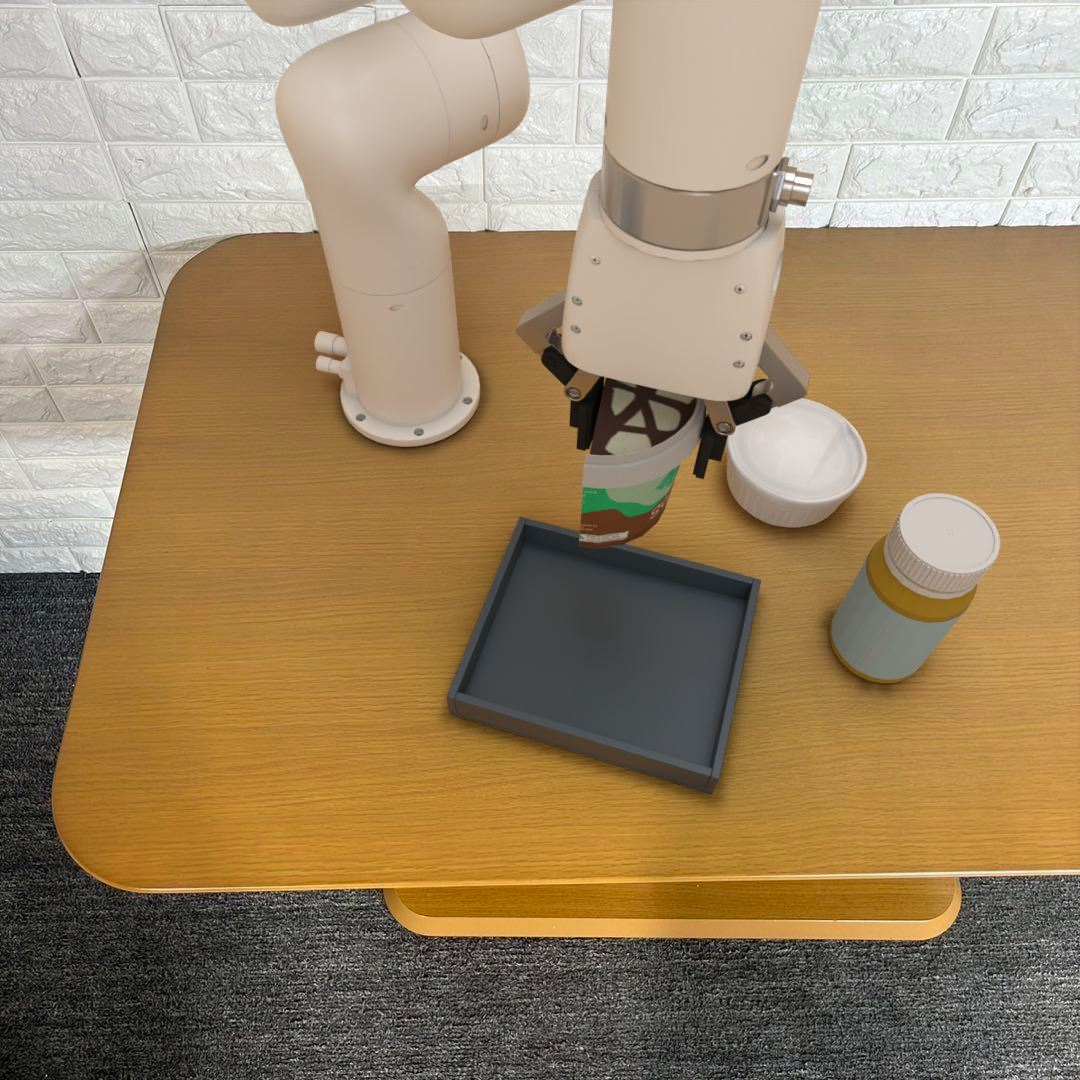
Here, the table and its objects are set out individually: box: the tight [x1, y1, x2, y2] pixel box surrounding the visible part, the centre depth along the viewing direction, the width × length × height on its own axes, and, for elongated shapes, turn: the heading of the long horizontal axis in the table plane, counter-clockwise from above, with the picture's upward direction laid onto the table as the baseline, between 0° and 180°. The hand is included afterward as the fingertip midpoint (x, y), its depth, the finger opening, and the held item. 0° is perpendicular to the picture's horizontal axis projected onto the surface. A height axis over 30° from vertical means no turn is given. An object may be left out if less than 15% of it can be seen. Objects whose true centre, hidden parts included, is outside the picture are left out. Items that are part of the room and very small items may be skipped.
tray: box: [446, 516, 762, 795], centre depth 66 cm, size 19×16×3 cm
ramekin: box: [725, 397, 868, 529], centre depth 74 cm, size 11×11×5 cm
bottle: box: [829, 492, 1001, 684], centre depth 62 cm, size 7×7×15 cm
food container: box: [579, 377, 707, 549], centre depth 54 cm, size 12×6×10 cm, turn 169°
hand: (645, 445), depth 54 cm, fingers closed on food container, 6 cm apart
